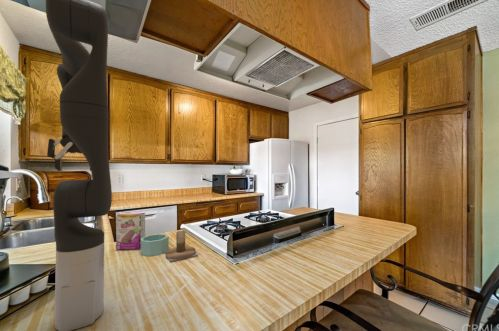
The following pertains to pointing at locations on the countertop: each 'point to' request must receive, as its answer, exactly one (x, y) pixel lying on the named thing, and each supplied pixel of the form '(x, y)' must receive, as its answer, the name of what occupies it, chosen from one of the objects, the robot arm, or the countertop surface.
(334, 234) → the countertop surface
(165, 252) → the mat
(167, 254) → the lid
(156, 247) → the bowl
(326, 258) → the countertop surface
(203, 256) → the countertop surface
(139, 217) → the candy bar box
